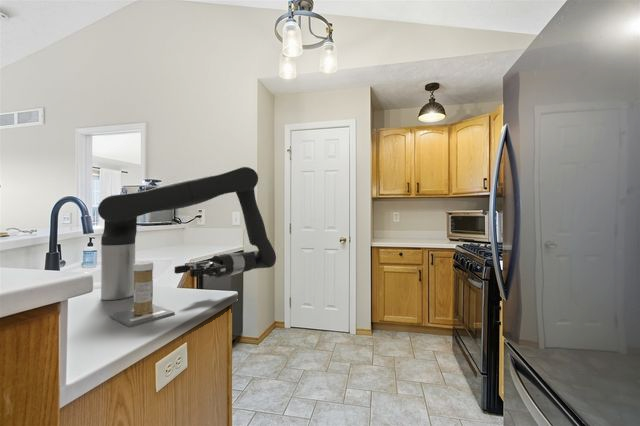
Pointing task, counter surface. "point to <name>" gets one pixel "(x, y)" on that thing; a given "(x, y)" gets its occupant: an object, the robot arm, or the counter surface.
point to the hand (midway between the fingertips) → (182, 271)
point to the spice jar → (143, 287)
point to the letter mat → (140, 316)
